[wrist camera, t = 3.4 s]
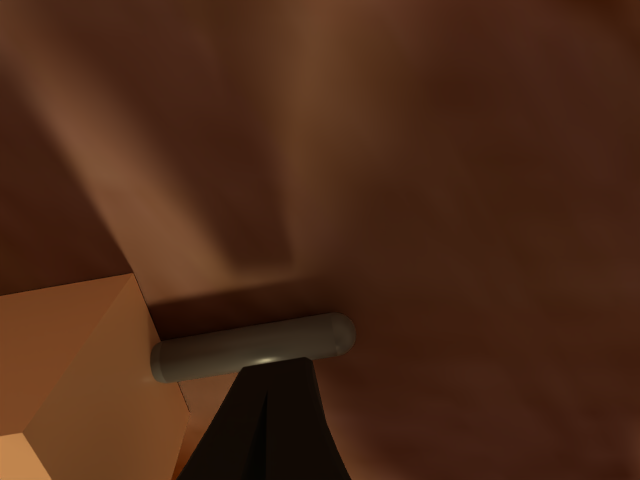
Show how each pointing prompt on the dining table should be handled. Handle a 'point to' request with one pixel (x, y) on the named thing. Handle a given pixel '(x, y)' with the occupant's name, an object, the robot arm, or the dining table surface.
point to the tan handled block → (119, 378)
